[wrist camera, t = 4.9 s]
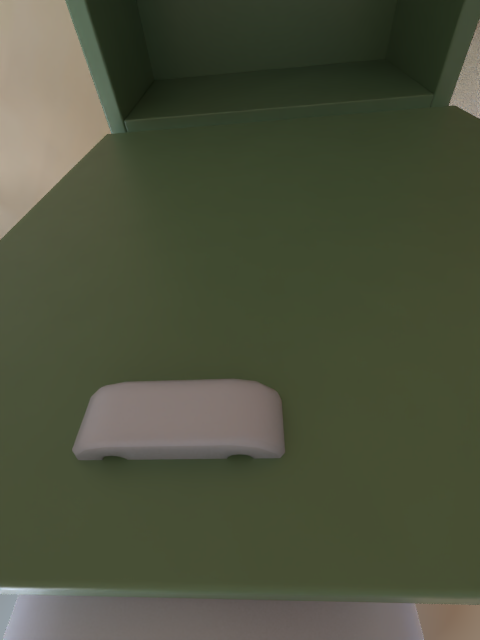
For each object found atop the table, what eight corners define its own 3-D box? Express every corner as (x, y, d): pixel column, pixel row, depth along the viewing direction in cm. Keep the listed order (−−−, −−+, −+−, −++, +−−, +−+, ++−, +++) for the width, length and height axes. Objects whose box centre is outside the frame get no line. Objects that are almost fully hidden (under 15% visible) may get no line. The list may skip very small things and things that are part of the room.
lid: (-350, 581, 3) (-250, 589, 3) (1404, 617, 2) (1160, 620, 2) (106, 134, 11) (113, 155, 11) (455, 104, 10) (447, 129, 11)
